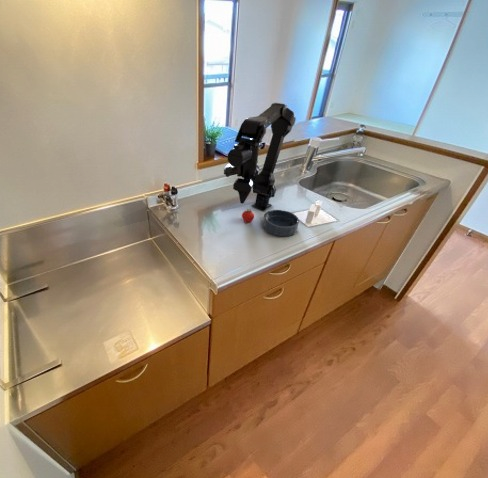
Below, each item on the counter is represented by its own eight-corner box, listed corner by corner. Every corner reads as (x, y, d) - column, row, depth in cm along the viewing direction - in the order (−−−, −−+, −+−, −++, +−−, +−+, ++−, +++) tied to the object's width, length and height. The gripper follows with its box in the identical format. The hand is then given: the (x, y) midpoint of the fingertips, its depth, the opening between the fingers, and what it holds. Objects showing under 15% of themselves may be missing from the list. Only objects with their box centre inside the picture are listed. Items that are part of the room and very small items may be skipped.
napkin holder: (308, 227, 109) (312, 214, 106) (291, 213, 118) (294, 201, 114) (337, 220, 113) (342, 208, 110) (318, 207, 122) (322, 196, 119)
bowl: (273, 215, 116) (275, 206, 114) (302, 227, 109) (305, 218, 106) (256, 227, 109) (257, 218, 106) (285, 241, 101) (288, 231, 99)
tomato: (246, 216, 116) (247, 205, 113) (255, 220, 113) (257, 210, 110) (238, 220, 113) (240, 209, 110) (248, 225, 110) (250, 214, 107)
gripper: (232, 147, 104) (229, 184, 114) (220, 164, 90) (217, 205, 100) (262, 150, 101) (256, 188, 111) (253, 169, 87) (247, 210, 97)
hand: (244, 197), depth 105 cm, fingers open, 9 cm apart
